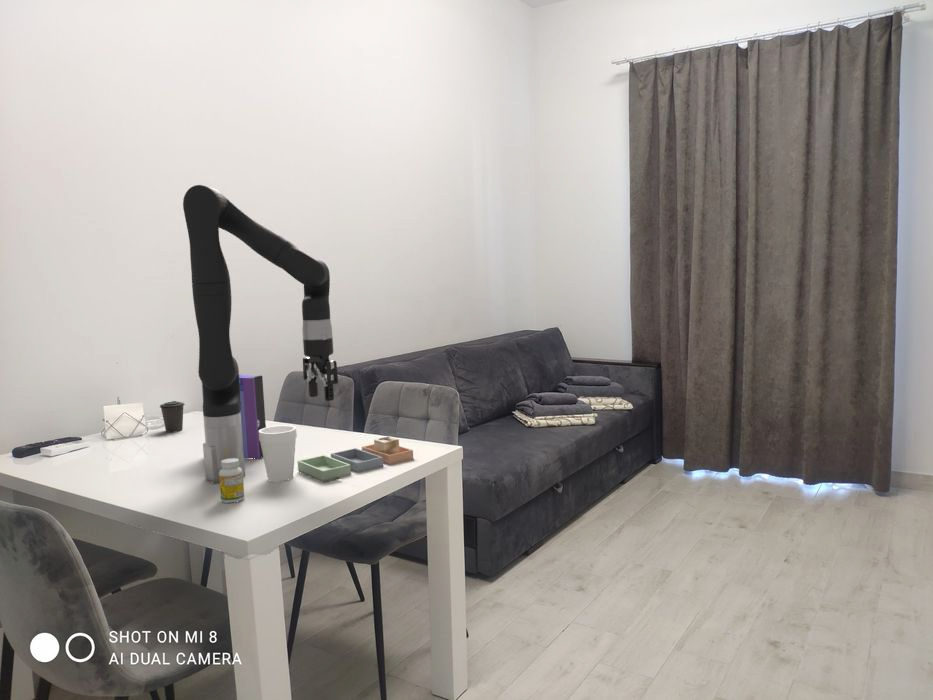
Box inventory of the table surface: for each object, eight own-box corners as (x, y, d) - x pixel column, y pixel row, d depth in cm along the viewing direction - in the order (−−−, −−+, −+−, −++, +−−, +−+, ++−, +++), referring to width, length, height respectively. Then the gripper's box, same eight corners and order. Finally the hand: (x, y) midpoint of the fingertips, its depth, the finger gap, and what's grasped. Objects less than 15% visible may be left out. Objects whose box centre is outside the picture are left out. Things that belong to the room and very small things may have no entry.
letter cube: (384, 460, 195) (383, 441, 194) (375, 456, 199) (374, 438, 198) (399, 456, 198) (398, 438, 197) (389, 453, 202) (388, 435, 201)
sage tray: (323, 482, 178) (323, 471, 177) (298, 471, 188) (297, 460, 188) (351, 475, 183) (350, 464, 183) (324, 465, 194) (324, 455, 193)
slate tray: (357, 474, 184) (357, 463, 184) (331, 464, 195) (330, 453, 195) (383, 468, 189) (382, 457, 189) (356, 458, 200) (355, 448, 200)
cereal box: (207, 456, 208) (201, 376, 205) (217, 452, 212) (211, 374, 210) (258, 459, 203) (252, 377, 200) (267, 455, 207) (262, 374, 204)
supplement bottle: (243, 502, 165) (240, 462, 164) (219, 504, 164) (216, 464, 163) (245, 495, 170) (243, 456, 169) (222, 497, 169) (219, 458, 168)
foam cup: (296, 471, 189) (293, 423, 188) (301, 480, 181) (298, 431, 179) (260, 476, 186) (257, 427, 184) (263, 485, 177) (260, 435, 176)
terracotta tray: (389, 466, 191) (389, 455, 190) (362, 457, 201) (361, 446, 201) (413, 460, 196) (412, 450, 195) (385, 451, 206) (385, 441, 206)
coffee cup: (182, 426, 251) (180, 399, 250) (189, 430, 244) (187, 402, 243) (158, 430, 246) (156, 402, 244) (165, 434, 239) (163, 405, 238)
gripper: (291, 336, 185) (295, 397, 187) (317, 339, 174) (321, 404, 176) (317, 334, 190) (321, 393, 191) (344, 337, 179) (347, 399, 181)
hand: (321, 398), depth 184 cm, fingers open, 8 cm apart
